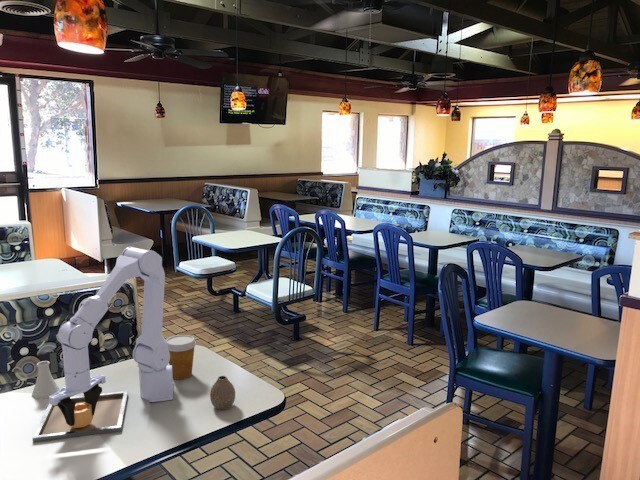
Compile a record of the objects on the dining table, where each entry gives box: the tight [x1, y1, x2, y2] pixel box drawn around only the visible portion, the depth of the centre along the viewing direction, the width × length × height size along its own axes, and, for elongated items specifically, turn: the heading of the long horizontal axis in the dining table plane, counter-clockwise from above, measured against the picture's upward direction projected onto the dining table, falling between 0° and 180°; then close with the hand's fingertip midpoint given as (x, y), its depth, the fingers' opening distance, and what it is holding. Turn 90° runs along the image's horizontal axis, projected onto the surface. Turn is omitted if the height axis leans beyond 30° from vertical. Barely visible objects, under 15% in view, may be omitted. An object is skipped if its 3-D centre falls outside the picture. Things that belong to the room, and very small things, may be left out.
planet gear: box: [69, 402, 93, 428], centre depth 131 cm, size 5×5×4 cm
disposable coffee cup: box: [165, 334, 197, 381], centre depth 162 cm, size 10×10×12 cm
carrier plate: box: [33, 397, 126, 444], centre depth 137 cm, size 20×20×1 cm
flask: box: [31, 360, 60, 399], centre depth 149 cm, size 7×7×10 cm
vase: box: [209, 375, 236, 411], centre depth 144 cm, size 7×7×9 cm
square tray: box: [32, 390, 129, 444], centre depth 137 cm, size 20×20×1 cm
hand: (80, 419), depth 132 cm, fingers closed on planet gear, 5 cm apart
